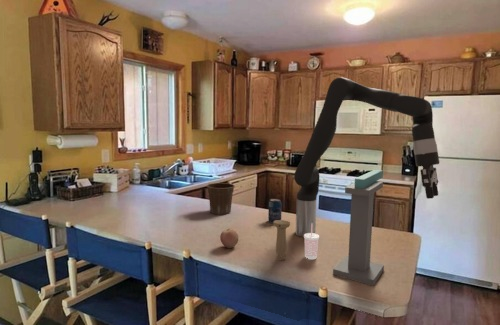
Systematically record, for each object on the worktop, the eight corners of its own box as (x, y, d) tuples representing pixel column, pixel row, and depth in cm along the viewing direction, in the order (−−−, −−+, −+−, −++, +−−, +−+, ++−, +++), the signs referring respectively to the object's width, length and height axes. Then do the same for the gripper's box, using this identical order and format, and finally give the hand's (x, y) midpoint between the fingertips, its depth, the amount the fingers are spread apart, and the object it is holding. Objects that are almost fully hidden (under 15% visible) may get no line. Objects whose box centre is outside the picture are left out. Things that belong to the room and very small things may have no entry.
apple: (229, 242, 148) (229, 225, 147) (242, 246, 143) (242, 228, 142) (216, 247, 142) (216, 229, 141) (229, 252, 137) (229, 233, 136)
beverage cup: (300, 257, 132) (301, 223, 130) (306, 252, 137) (307, 220, 135) (315, 261, 129) (316, 226, 127) (320, 256, 134) (322, 222, 132)
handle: (275, 255, 134) (275, 219, 132) (290, 257, 132) (291, 221, 130) (271, 259, 130) (271, 222, 128) (286, 262, 127) (287, 225, 125)
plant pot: (233, 208, 205) (233, 182, 203) (235, 215, 189) (235, 187, 187) (207, 208, 203) (206, 182, 201) (207, 216, 187) (206, 188, 185)
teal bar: (363, 188, 111) (363, 179, 110) (354, 187, 112) (354, 178, 112) (382, 177, 132) (382, 170, 132) (374, 176, 134) (375, 169, 133)
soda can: (270, 224, 174) (271, 201, 173) (266, 220, 181) (266, 198, 179) (283, 223, 176) (283, 201, 175) (278, 219, 183) (279, 198, 181)
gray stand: (373, 285, 110) (378, 191, 106) (332, 274, 118) (336, 186, 114) (386, 266, 125) (391, 183, 121) (349, 257, 133) (353, 178, 129)
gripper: (419, 154, 128) (425, 195, 127) (409, 154, 117) (416, 199, 116) (441, 151, 123) (447, 194, 122) (433, 150, 112) (440, 198, 111)
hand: (432, 197), depth 119 cm, fingers open, 8 cm apart
